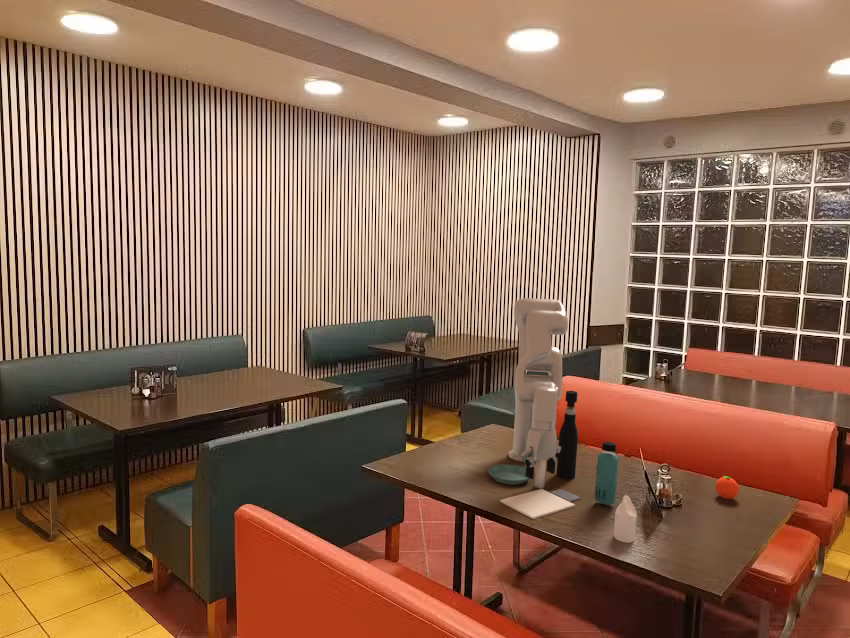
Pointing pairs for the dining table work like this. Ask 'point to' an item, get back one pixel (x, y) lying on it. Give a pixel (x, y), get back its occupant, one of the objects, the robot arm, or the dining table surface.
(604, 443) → the beverage bottle
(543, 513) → the pad
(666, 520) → the dining table surface
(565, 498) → the plate
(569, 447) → the black bottle
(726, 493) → the clementine
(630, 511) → the white tapered cylinder
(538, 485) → the marker
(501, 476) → the saucer
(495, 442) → the dining table surface
